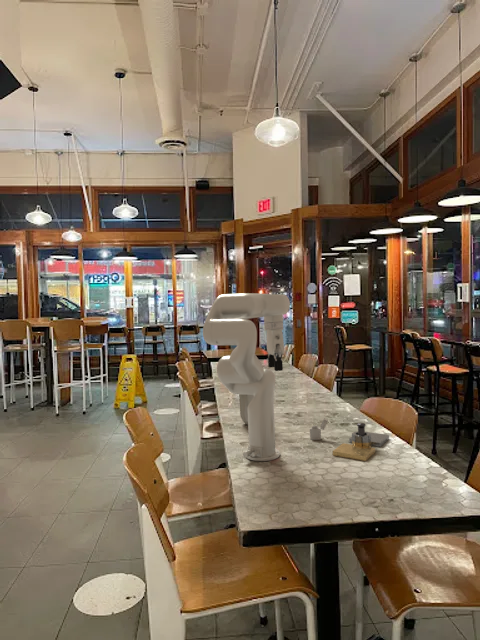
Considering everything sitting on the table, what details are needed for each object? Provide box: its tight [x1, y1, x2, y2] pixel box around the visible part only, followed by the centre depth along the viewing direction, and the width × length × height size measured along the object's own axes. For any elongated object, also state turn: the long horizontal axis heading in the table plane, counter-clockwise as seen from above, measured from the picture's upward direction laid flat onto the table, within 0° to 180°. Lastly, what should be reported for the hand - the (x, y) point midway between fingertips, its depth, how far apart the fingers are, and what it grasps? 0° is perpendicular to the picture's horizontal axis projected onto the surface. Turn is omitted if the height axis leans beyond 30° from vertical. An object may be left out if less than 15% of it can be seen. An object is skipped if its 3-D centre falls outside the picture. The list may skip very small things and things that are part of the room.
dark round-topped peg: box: [356, 422, 366, 436], centre depth 166 cm, size 3×3×9 cm
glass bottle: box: [238, 394, 254, 425], centre depth 202 cm, size 10×10×28 cm
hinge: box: [332, 430, 390, 462], centre depth 166 cm, size 27×12×5 cm, turn 146°
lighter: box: [309, 418, 329, 441], centre depth 178 cm, size 7×2×8 cm, turn 87°
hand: (275, 368), depth 179 cm, fingers open, 9 cm apart
